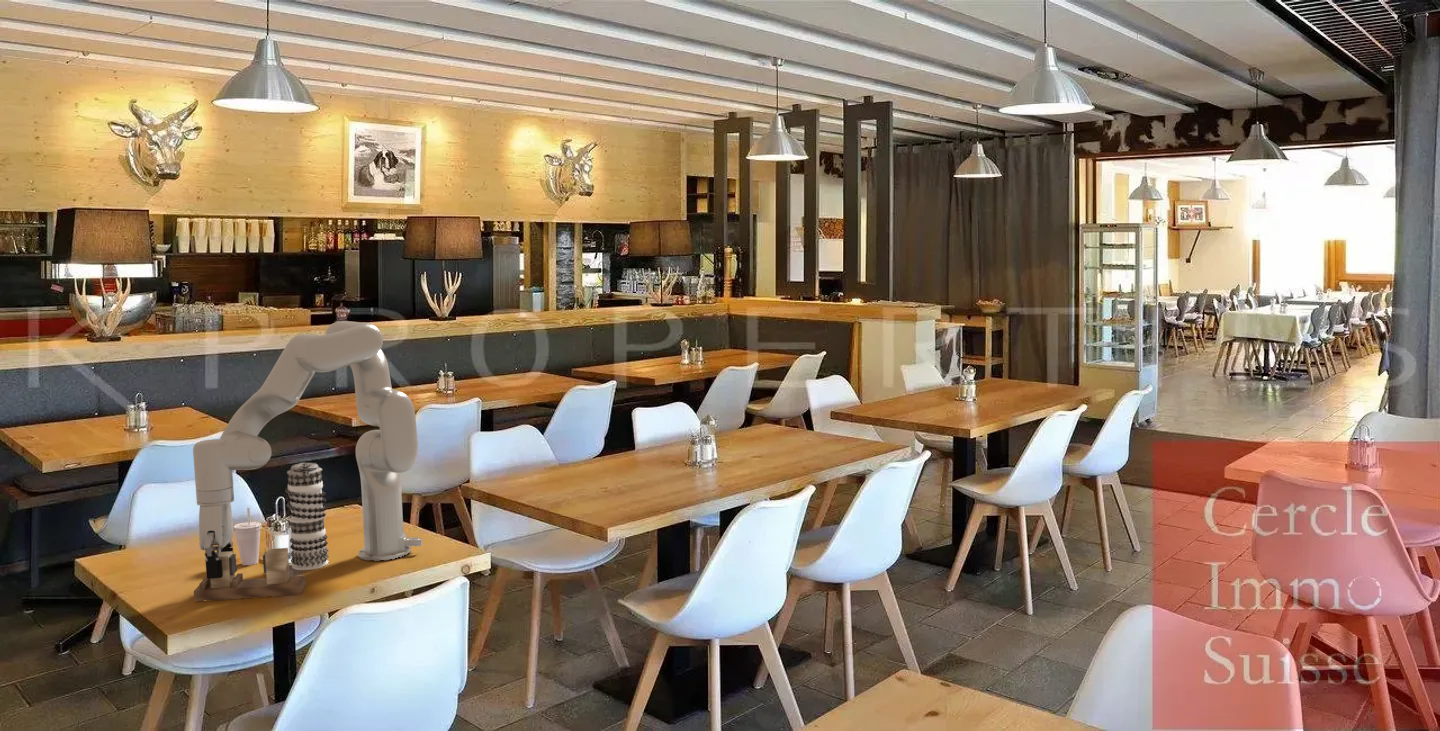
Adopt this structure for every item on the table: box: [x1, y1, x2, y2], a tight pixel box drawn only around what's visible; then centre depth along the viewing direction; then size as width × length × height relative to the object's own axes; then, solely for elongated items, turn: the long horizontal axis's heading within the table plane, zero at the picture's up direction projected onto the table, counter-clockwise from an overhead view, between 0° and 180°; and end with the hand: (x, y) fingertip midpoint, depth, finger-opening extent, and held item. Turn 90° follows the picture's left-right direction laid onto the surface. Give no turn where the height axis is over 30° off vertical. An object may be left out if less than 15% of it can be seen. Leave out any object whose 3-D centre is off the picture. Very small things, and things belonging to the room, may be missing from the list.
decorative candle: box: [284, 462, 329, 571], centre depth 258 cm, size 9×9×25 cm
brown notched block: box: [193, 547, 306, 602], centre depth 238 cm, size 22×6×10 cm, turn 101°
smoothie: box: [233, 507, 263, 566], centre depth 261 cm, size 6×6×14 cm
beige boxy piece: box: [210, 550, 238, 588], centre depth 237 cm, size 5×4×7 cm
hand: (220, 571), depth 237 cm, fingers open, 8 cm apart
